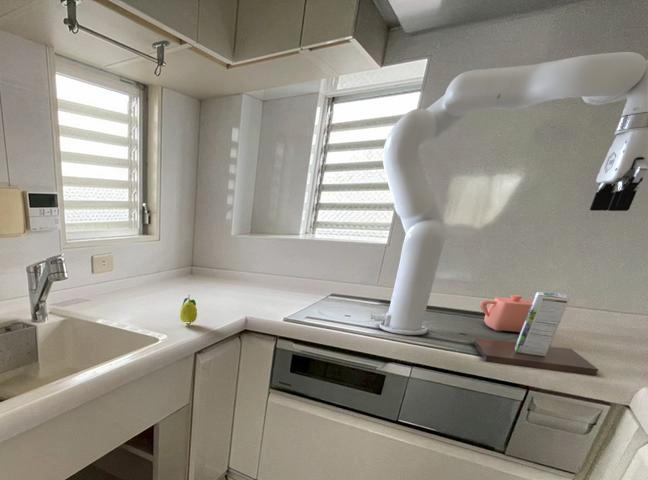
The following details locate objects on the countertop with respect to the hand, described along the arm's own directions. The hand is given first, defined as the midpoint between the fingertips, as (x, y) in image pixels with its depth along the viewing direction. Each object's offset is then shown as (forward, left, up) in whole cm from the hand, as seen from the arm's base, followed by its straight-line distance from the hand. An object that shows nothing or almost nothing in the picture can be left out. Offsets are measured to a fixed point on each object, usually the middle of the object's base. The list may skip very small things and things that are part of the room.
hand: (607, 210), depth 93 cm
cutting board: (-7, -10, -34) cm, 36 cm away
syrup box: (-7, -10, -33) cm, 35 cm away
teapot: (-5, +20, -34) cm, 40 cm away
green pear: (-95, -22, -34) cm, 103 cm away
